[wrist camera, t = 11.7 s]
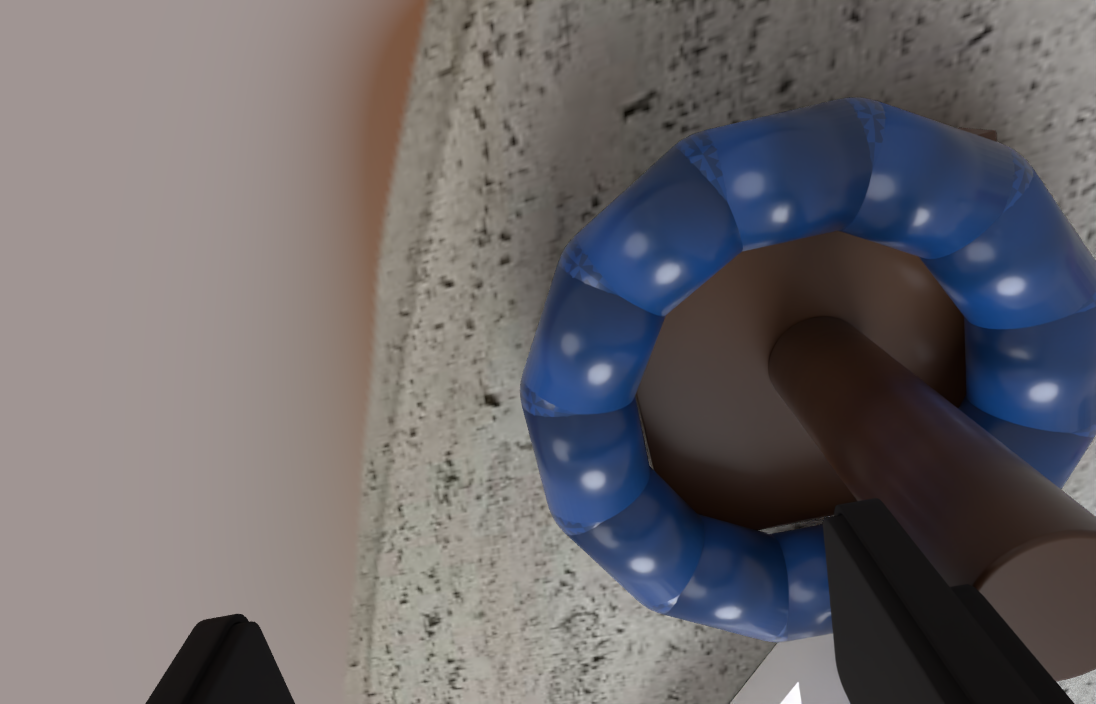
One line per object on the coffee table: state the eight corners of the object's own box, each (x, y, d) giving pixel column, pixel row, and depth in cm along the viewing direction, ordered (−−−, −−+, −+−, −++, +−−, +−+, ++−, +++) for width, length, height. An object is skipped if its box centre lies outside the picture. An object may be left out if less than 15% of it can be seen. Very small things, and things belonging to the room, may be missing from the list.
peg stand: (594, 219, 18) (643, 375, 8) (960, 126, 17) (1514, 175, 7) (663, 518, 21) (760, 900, 11) (978, 452, 20) (1388, 799, 10)
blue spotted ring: (471, 179, 16) (457, 194, 14) (1057, 42, 15) (1155, 32, 13) (587, 626, 20) (591, 699, 18) (1050, 543, 19) (1122, 609, 17)
